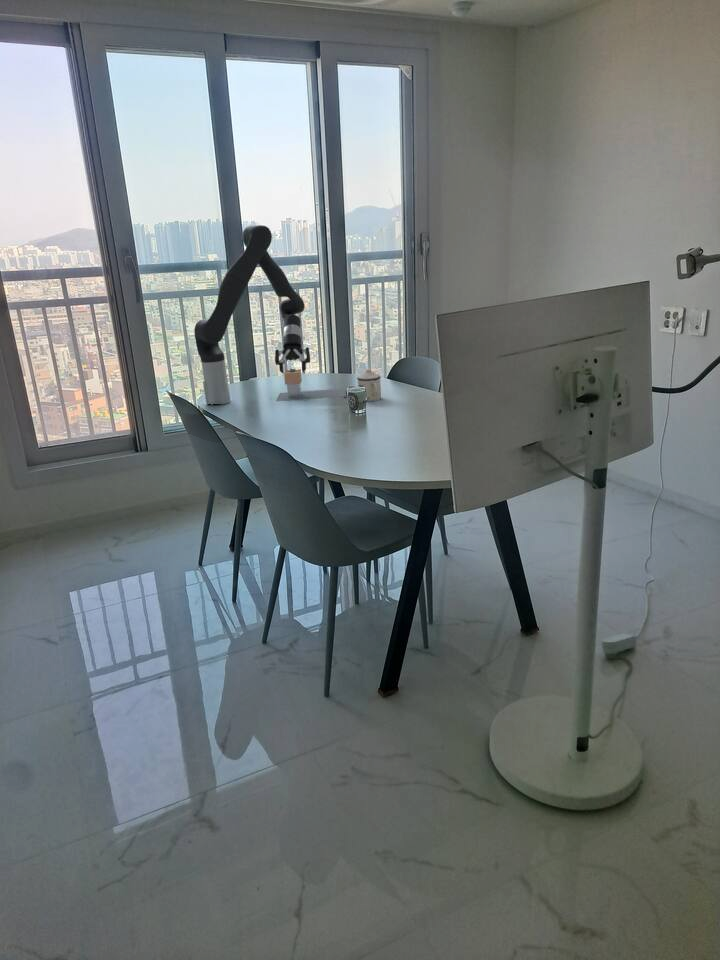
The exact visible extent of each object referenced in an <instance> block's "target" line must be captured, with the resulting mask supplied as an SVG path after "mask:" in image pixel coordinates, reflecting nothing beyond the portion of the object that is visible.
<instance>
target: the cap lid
mask: <svg viewBox="0 0 720 960" xmlns="http://www.w3.org/2000/svg"><path fill="white" fill-rule="evenodd" d="M283 376H284V385H286V386H287V385H288V384H301V385H302V380H303V378H302V368H301V369H295V368H291V369H286V370H285V371H284V373H283Z"/></svg>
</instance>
